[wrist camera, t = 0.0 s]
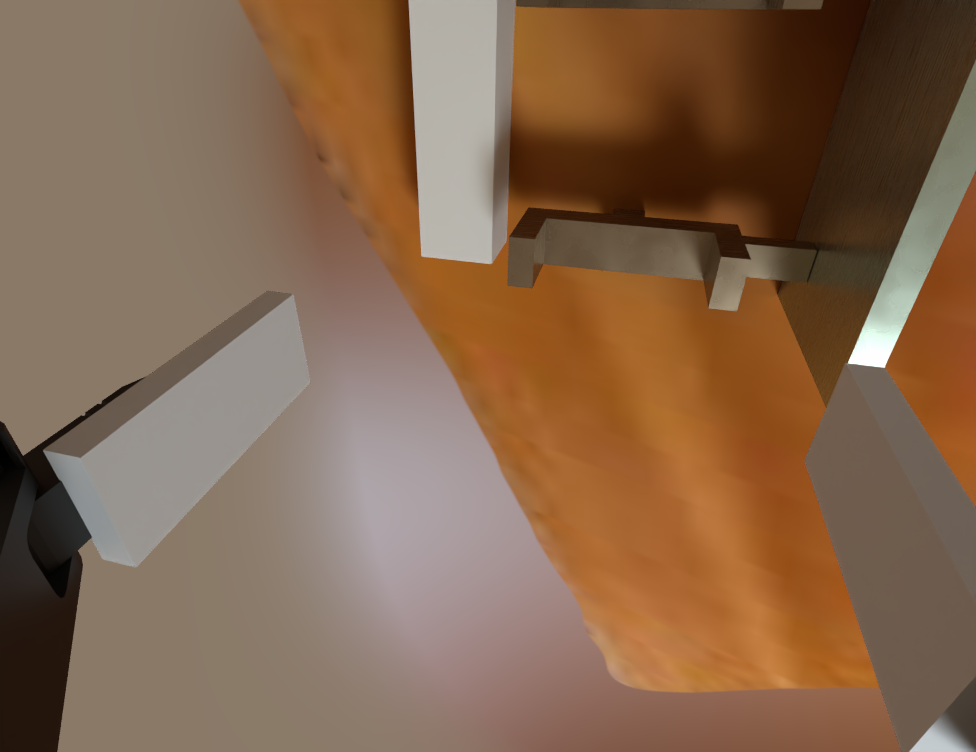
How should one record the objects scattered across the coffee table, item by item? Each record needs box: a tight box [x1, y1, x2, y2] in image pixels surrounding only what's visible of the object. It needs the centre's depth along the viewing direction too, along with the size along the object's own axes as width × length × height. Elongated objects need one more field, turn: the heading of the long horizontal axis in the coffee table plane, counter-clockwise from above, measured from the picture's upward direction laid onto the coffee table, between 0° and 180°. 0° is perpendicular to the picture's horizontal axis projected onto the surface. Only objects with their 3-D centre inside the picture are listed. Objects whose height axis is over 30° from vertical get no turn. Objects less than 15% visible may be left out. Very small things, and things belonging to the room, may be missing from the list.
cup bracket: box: [508, 0, 976, 408], centre depth 29 cm, size 22×19×14 cm
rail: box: [409, 0, 515, 264], centre depth 36 cm, size 18×5×5 cm, turn 179°
